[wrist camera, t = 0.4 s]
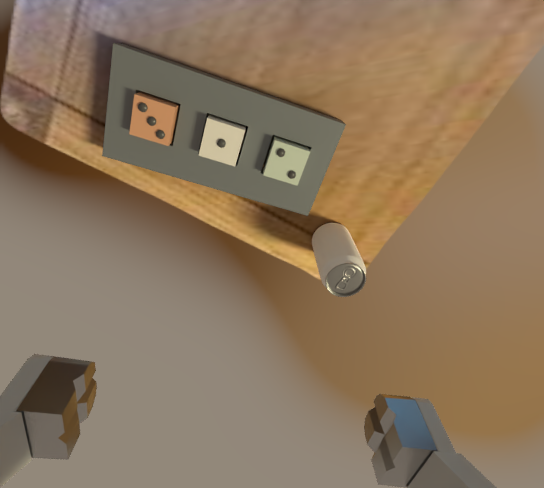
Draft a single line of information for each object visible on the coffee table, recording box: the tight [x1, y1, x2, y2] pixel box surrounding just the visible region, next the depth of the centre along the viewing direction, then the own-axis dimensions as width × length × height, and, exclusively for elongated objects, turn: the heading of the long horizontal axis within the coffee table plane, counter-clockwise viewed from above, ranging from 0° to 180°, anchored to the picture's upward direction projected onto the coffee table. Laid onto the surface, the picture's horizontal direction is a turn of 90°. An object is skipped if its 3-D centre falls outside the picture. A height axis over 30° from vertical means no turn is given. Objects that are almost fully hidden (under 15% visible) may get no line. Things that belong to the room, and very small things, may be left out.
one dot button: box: [199, 114, 246, 166], centre depth 47 cm, size 5×5×3 cm
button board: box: [102, 43, 346, 216], centre depth 49 cm, size 14×30×3 cm, turn 72°
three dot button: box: [129, 91, 180, 146], centre depth 46 cm, size 5×5×3 cm
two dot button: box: [263, 135, 310, 186], centre depth 49 cm, size 5×5×3 cm
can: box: [312, 223, 366, 297], centre depth 54 cm, size 6×6×12 cm
